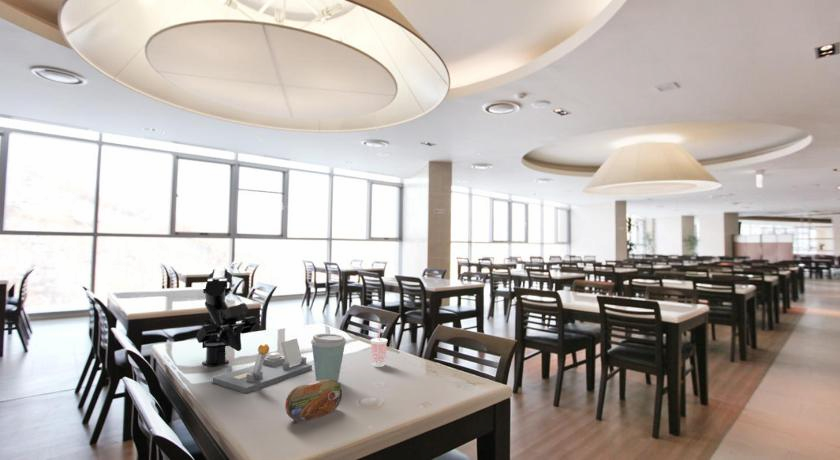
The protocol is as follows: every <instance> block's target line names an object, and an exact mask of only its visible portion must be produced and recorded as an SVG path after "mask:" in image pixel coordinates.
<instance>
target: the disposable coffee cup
mask: <svg viewBox="0 0 840 460" xmlns="http://www.w3.org/2000/svg"><path fill="white" fill-rule="evenodd" d="M310 343H311V347H312V355H313V365H314V375H315V382H316V381H320V380H323V379H330V380H334V381H336V382H338V381H339V379H340V373H341V368H342V363H343V358H344V351H345V346H346V343H347V340H346V337H344V336H343V335H341V334H336V333H317V334H315V335H313V337H312V339H311V342H310ZM338 383H339V382H338Z"/></svg>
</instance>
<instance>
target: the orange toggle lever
mask: <svg viewBox="0 0 840 460" xmlns="http://www.w3.org/2000/svg"><path fill="white" fill-rule="evenodd" d="M257 351H258V353H257V357H256V360H255V362H254V363H255V364H254V365H255V366H254V369H253V372H252V374H254V379H256V378H259V375H260V372H261V369H262V366H263V363H264V359H265V358H266V357H267V354H269V352H270V345H268V344H267V343H263V344H260V345H259V346H258V348H257Z"/></svg>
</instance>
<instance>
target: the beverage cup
mask: <svg viewBox="0 0 840 460" xmlns="http://www.w3.org/2000/svg"><path fill="white" fill-rule="evenodd" d="M370 343H371V365H372V367H375V368H376V367H377V368H380V367H384V366H385V365H386V356H387V355H386V353H387V343H388V339H387V338H385V337H381V325H378V337H375V338H374V337H373V338H371V339H370Z"/></svg>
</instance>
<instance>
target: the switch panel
mask: <svg viewBox="0 0 840 460" xmlns="http://www.w3.org/2000/svg"><path fill="white" fill-rule="evenodd" d="M301 357H302V361H301V362H298V363H295V364H292V365H289V363H287V362H285V358H284V356H281V355H280V359H278V360H274V361H272V360H269V356H268V357H267V356H266V357H265V359H264V363H263V366H262V369H261V372H260V375H259V378H256V379H254V374H252V372H253V369H254V366H255V364H254V365H251V366H246V367H244V368H239V369H237V370H234V371H233V370H232V371H230V372H226V373H224V374H220V375H217V376H213V377H212V384H216V385H218V386H222V387H225V388H228V389H231V390H235V391H237V392H240V393H243V394H247V393H251V392H252V391H256V390H259V389H262V388H265V387H267V386H269V385H272V384H275V383H278V382H280V381H281V382H282V381H283V380H287V379H289V378H291V377H294V376H297V375H301V374H303V373H306V372H308V371H311V370H313V365H312V364H310V363H307V357H306V356H301Z"/></svg>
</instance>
